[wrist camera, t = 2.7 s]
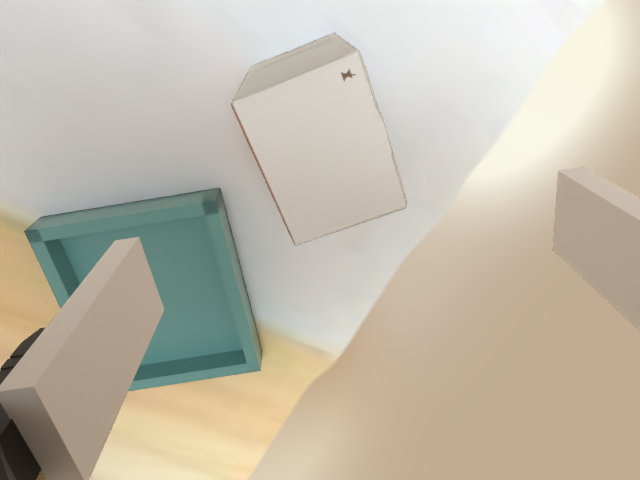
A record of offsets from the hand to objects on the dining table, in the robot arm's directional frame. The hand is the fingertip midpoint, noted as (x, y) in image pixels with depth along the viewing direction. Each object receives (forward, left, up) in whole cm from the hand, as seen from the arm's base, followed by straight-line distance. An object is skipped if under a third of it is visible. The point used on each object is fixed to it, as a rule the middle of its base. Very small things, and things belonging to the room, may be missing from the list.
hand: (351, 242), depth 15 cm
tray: (-15, -13, -22) cm, 29 cm away
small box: (0, 0, -22) cm, 22 cm away
